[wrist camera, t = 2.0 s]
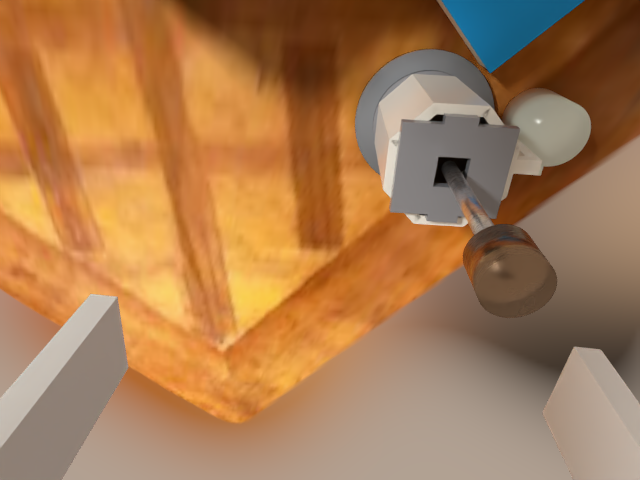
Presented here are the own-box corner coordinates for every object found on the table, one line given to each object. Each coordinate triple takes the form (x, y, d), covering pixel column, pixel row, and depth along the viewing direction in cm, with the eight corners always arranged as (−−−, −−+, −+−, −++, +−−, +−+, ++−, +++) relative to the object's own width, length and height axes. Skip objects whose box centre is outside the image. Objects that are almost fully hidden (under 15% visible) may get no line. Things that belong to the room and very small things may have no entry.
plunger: (429, 144, 34) (487, 252, 20) (477, 146, 34) (567, 257, 20) (422, 188, 36) (470, 315, 22) (467, 191, 36) (544, 320, 22)
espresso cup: (509, 85, 44) (531, 99, 39) (570, 89, 44) (600, 103, 39) (492, 157, 48) (510, 178, 43) (548, 160, 48) (573, 182, 43)
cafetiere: (378, 66, 43) (391, 98, 31) (510, 74, 43) (574, 109, 31) (367, 168, 49) (375, 228, 37) (485, 175, 48) (532, 239, 36)
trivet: (361, 44, 43) (361, 45, 43) (507, 52, 43) (510, 54, 42) (349, 180, 50) (350, 183, 49) (475, 188, 50) (477, 191, 49)
